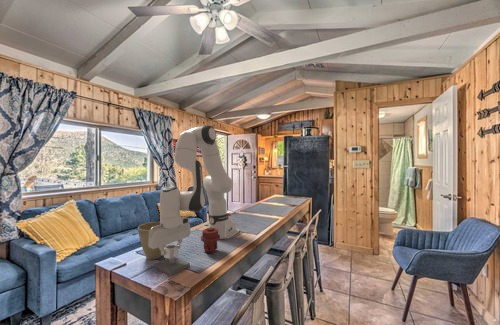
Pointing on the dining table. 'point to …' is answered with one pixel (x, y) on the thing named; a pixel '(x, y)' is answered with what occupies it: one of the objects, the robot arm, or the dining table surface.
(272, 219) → the dining table surface
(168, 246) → the steel collar
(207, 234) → the mechanical component
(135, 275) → the dining table surface
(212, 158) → the robot arm
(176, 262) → the shaft base
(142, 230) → the plant pot
